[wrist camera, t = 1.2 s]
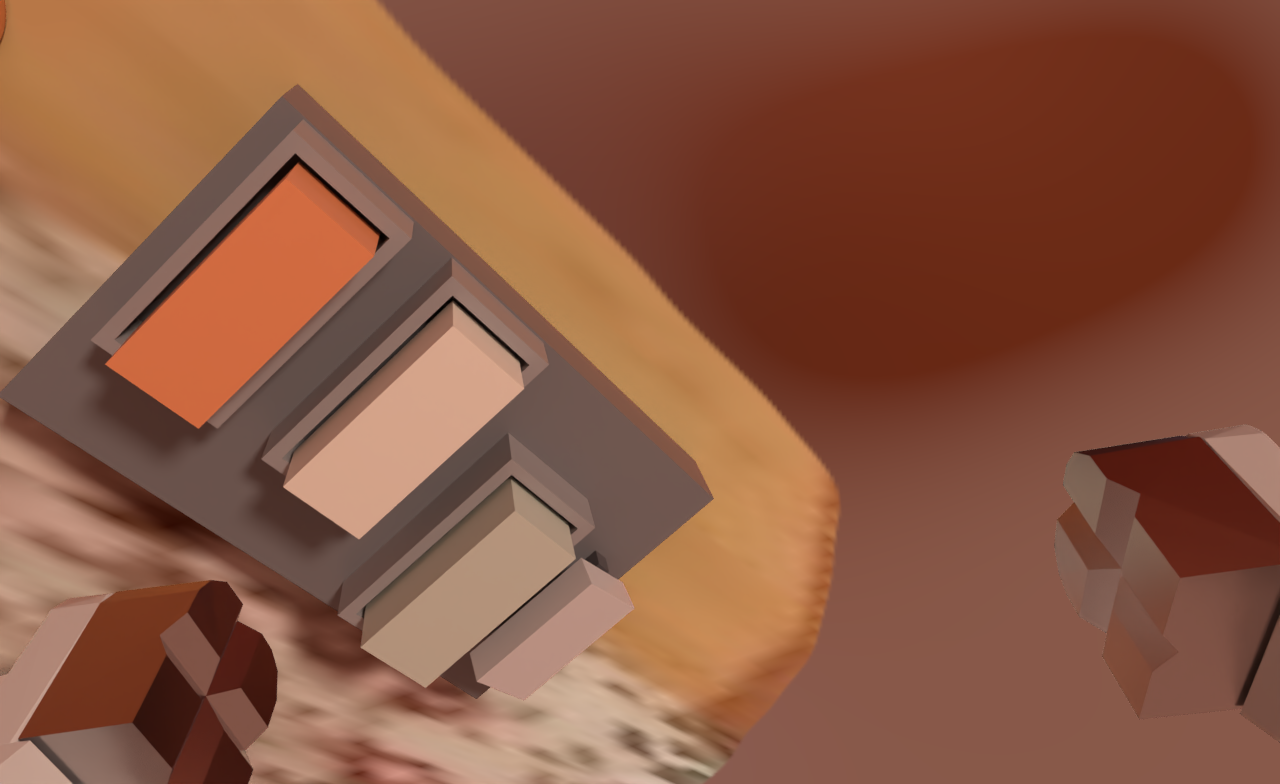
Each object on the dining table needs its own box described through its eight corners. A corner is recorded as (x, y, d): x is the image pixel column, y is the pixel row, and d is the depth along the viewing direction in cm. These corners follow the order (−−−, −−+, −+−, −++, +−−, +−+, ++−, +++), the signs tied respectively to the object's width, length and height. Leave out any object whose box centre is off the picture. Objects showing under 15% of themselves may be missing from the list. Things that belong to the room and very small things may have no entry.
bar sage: (567, 522, 43) (575, 558, 40) (426, 645, 45) (425, 687, 42) (510, 476, 41) (514, 511, 39) (365, 605, 43) (360, 647, 40)
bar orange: (379, 234, 35) (373, 256, 32) (216, 395, 37) (198, 428, 34) (298, 161, 33) (285, 178, 31) (130, 334, 35) (104, 364, 32)
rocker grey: (623, 582, 46) (634, 608, 45) (516, 673, 48) (523, 700, 46) (581, 557, 44) (592, 583, 43) (469, 653, 45) (476, 681, 44)
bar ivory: (519, 359, 39) (524, 388, 36) (365, 502, 40) (359, 539, 38) (452, 300, 37) (453, 325, 34) (294, 451, 38) (282, 486, 36)
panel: (695, 461, 50) (727, 525, 44) (474, 650, 53) (477, 734, 47) (297, 84, 38) (270, 105, 32) (36, 358, 40) (-33, 424, 35)
